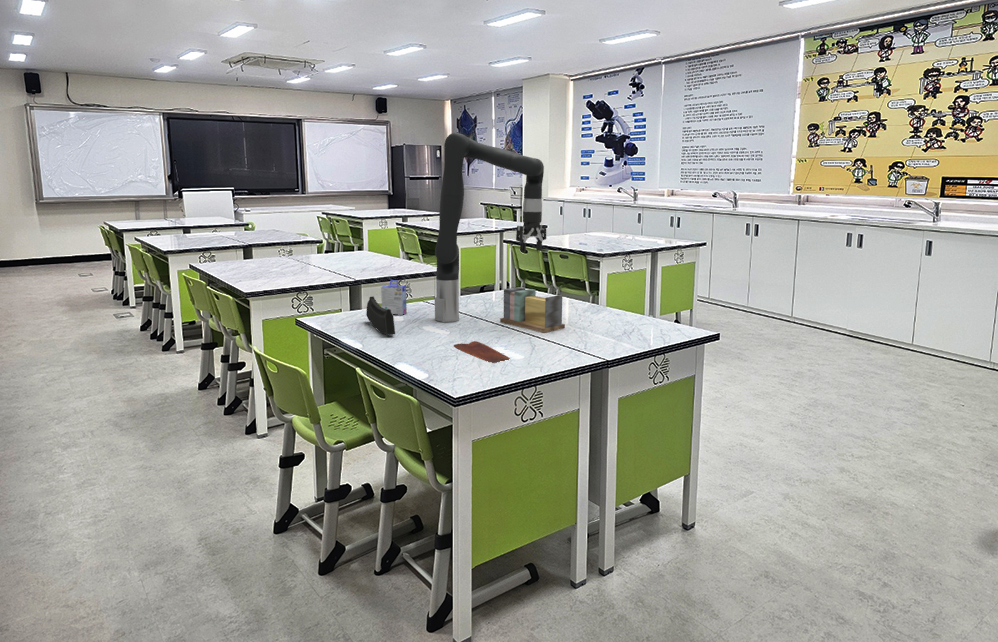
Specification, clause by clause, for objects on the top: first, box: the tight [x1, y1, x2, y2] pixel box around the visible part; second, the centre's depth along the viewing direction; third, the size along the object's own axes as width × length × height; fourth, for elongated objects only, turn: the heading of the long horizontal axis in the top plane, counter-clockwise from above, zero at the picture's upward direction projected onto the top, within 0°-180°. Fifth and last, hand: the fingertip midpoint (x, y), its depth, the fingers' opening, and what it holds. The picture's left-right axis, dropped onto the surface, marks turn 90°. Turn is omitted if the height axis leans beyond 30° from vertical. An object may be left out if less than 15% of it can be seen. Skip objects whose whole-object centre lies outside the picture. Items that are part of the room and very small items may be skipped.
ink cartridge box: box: [380, 279, 408, 316], centre depth 295 cm, size 10×6×14 cm, turn 80°
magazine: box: [365, 296, 396, 336], centre depth 266 cm, size 17×3×30 cm
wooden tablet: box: [453, 340, 511, 364], centre depth 235 cm, size 27×10×2 cm, turn 31°
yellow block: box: [525, 295, 546, 326], centre depth 272 cm, size 5×12×10 cm, turn 41°
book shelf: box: [499, 286, 566, 333], centre depth 275 cm, size 12×25×14 cm, turn 42°
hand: (530, 251), depth 273 cm, fingers open, 8 cm apart
